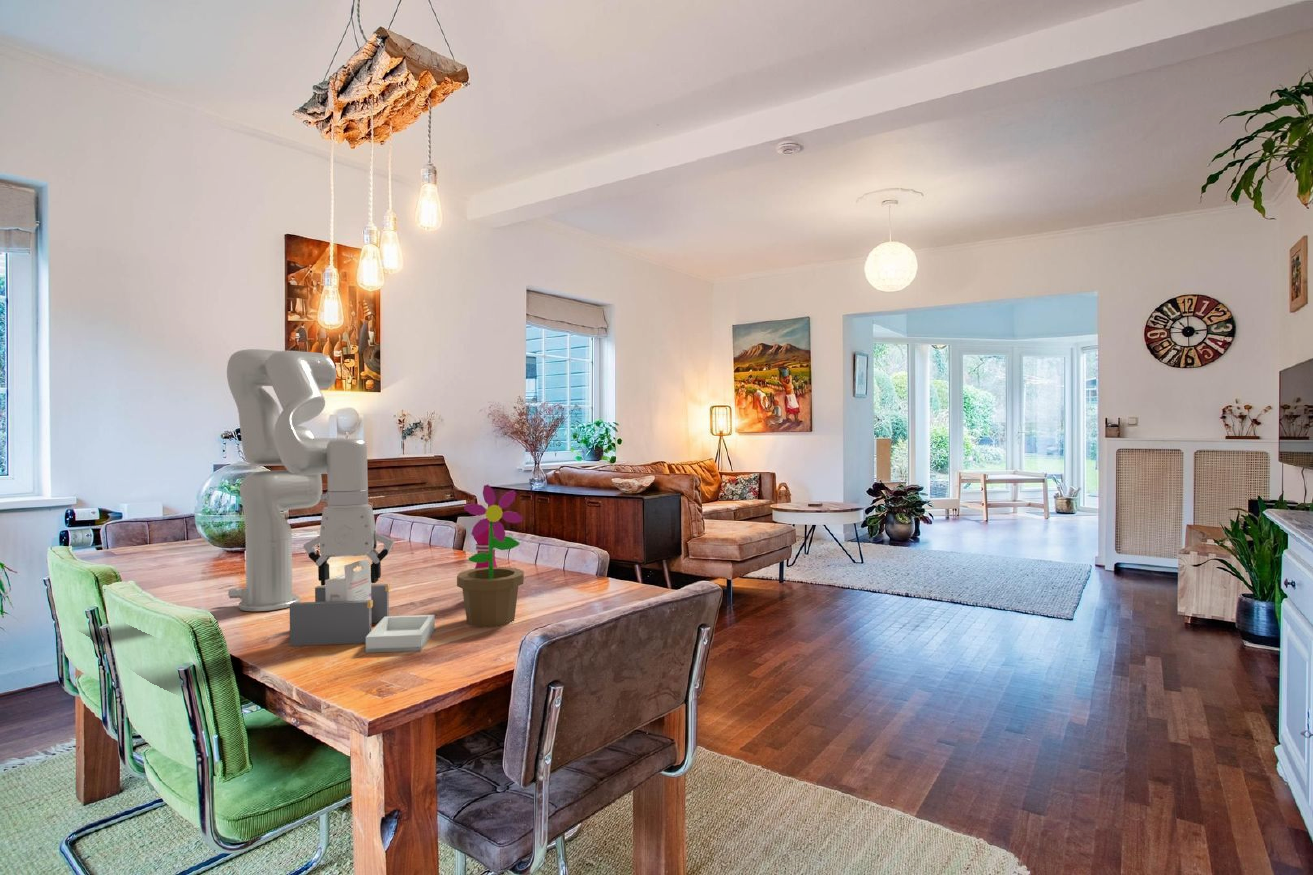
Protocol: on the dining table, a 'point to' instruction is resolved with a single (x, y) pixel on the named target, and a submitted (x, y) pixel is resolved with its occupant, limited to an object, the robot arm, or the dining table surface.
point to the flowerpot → (491, 567)
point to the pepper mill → (484, 547)
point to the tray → (400, 634)
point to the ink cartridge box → (350, 584)
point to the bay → (337, 618)
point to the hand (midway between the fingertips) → (350, 583)
